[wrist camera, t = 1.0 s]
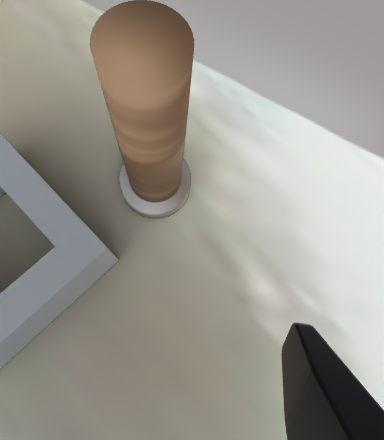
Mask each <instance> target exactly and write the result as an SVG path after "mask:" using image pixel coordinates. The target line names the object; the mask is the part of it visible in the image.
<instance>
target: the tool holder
mask: <svg viewBox="0 0 384 440" xmlns="http://www.w3.org/2000/svg"><path fill="white" fill-rule="evenodd" d="M5 193H7V194H8V195H9V196H10V198H11V199H12V200H13V201H14V202H15V203H16V204H17V205H18V206H19V207H20V209H21V210H22V211H23V212H24V213H25V214H26V215H27V216H28V217H29V218H30V220H31V221H32V222H33V223H34V224H35V225H36V226H37V227H38V228H39V229H40V230H41V232H42V233H43V234H44V235H45V236H46V237H47V238H48V239H49V240H50V241H51V243H52V244H53V245H54V246H55V247H54V248H53V249H52V250H50V251H49V252H48V253H47V254H46V255H45V256H43V257H42V258H41V259H40V260H39V261H38V262H36V263H35V264H34V265H33V266H32V267H31V268H29V269H28V270H27V271H26V272H25V273H24V274H22V275H21V276H20V277H19V278H18V279H17V280H15V281H14V282H13V283H12V284H11V285H10V286H8V287H7V288H6V289H5V290H4V291H3V292H1V293H0V369H1V368H2V367H3V366H4V365H5V364H6V363H8V362H9V361H10V360H11V359H12V358H13V357H14V356H15V355H16V354H17V353H18V352H20V351H21V350H22V349H23V348H24V347H25V346H26V345H27V344H28V343H29V342H30V341H32V340H33V339H34V338H35V337H36V336H37V335H38V334H39V333H40V332H41V331H43V330H44V329H45V328H46V327H47V326H48V325H49V324H50V323H51V322H52V321H53V320H55V319H56V318H57V317H58V316H59V315H60V314H61V313H62V312H63V311H64V310H65V309H67V308H68V307H69V306H70V305H71V304H72V303H73V302H74V301H75V300H76V299H77V298H79V297H80V296H81V295H82V294H83V293H84V292H85V291H86V290H87V289H88V288H89V287H91V286H92V285H93V284H94V283H95V282H96V281H97V280H98V279H99V278H100V277H102V276H103V275H104V274H105V273H106V272H107V271H108V270H109V269H110V268H111V267H112V266H114V265H115V264H116V263H117V262H118V261H119V260H118V259H117V258H116V257H115V256H114V254H113V253H112V252H111V251H110V250H109V249H108V248H107V247H106V246H105V245H104V244H103V242H102V241H101V240H100V239H99V238H98V237H97V236H96V235H95V234H94V233H93V232H92V231H91V230H90V229H89V228H88V226H87V225H86V224H85V223H84V222H83V221H82V220H81V219H80V218H79V217H78V216H77V215H76V214H75V213H74V212H73V211H72V209H71V208H70V207H69V206H68V205H67V204H66V203H65V202H64V201H63V200H62V199H61V198H60V197H59V196H58V195H57V193H56V192H55V191H54V190H53V189H52V188H51V187H50V186H49V185H48V184H47V183H46V182H45V181H44V180H43V179H42V178H41V176H40V175H39V174H38V173H37V172H36V171H35V170H34V169H33V168H32V167H31V166H30V165H29V164H28V163H27V162H26V160H25V159H24V158H23V157H22V156H21V155H20V154H19V153H18V152H17V151H16V150H15V149H14V148H13V147H12V146H11V144H10V143H9V142H8V141H7V140H6V139H5V138H4V137H3V136H2V135H1V134H0V197H1V196H2V195H3V194H5Z"/></svg>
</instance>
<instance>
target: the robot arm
mask: <svg viewBox="0 0 384 440" xmlns="http://www.w3.org/2000/svg"><path fill="white" fill-rule="evenodd" d="M282 372H283V394H284V414H285V425H286V433H287V439H288V440H384V410H383V409H382V408H381V407H380V405H379V404H378V403H377V402H376V401H375V400H374V398H373V397H372V396H371V395H370V394H369V392H368V391H367V390H366V389H365V388H364V386H363V385H362V384H361V383H360V382H359V380H358V379H357V378H356V377H355V376H354V375H353V373H352V372H351V371H350V370H349V369H348V367H347V366H346V365H345V364H344V363H343V361H342V360H341V359H340V358H339V357H338V356H337V354H336V353H335V352H334V351H333V350H332V348H331V347H330V346H329V345H328V344H327V342H326V341H325V340H324V339H323V338H322V336H321V335H320V334H319V333H318V332H317V331H316V329H315V328H314V327H313V326H311V325H309V324H303V323H293V324H292V326H291V328H290V330H289V333H288V335H287V337H286V340H285V342H284V344H283V348H282Z"/></svg>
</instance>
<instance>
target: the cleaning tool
mask: <svg viewBox="0 0 384 440" xmlns="http://www.w3.org/2000/svg"><path fill="white" fill-rule="evenodd" d="M90 47H91V53H92V56H93V59H94V63H95V66H96V70H97V73H98V77H99V80H100V83H101V87H102V90H103V94H104V97H105V101H106V104H107V107H108V111H109V114H110V118H111V121H112V125H113V128H114V131H115V135H116V138H117V142H118V145H119V148H120V152H121V155H122V159H123V162H124V163H123V165H122V167H121V170H120V176H119V182H120V187H121V190H122V193H123V196H124V198H125V200H126V202H127V204H128V205H129V206H130V208H131V209H132V210H134V211H135V212H136V213H138V214H140V215H141V216H144V217H148V218H164V217H167V216H170V215H172V214H174V213H175V212H177V211H178V210H179V209H180V208H181V207H182V206H183V205H184V203H185V202H186V200H187V197H188V194H189V189H190V183H191V175H190V170H189V167H188V165H187V163H186V161H185V160H184V159H183V155H184V145H185V135H186V124H187V114H188V104H189V94H190V84H191V74H192V63H193V52H194V38H193V34H192V31H191V28H190V27H189V25H188V23H187V22H186V20H185V19H184V18H183V17H182V16H181V15H180V14H179V13H178V12H176V11H175V10H173V9H172V8H170V7H168V6H166V5H164V4H161V3H158V2H154V1H147V0H135V1H128V2H124V3H121V4H118V5H116V6H114V7H112V8H111V9H109V10H108V11H106V12H105V13H104V14H103V15H102V16H101V17H100V18H99V19H98V21H97V22H96V24H95V25H94V27H93V30H92V33H91V38H90Z"/></svg>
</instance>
